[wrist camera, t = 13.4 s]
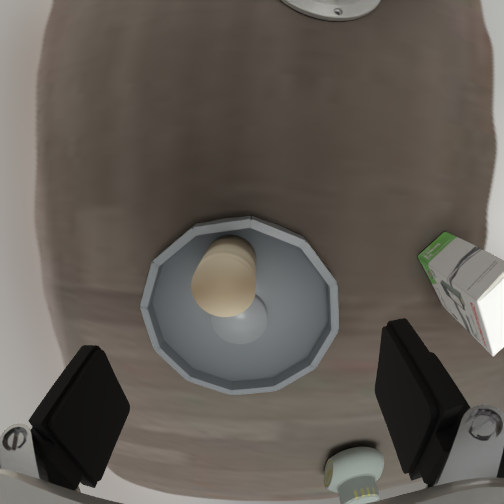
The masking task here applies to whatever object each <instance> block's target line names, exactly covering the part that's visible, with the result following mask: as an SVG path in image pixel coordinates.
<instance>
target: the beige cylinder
mask: <svg viewBox="0 0 504 504" xmlns="http://www.w3.org/2000/svg"><path fill="white" fill-rule="evenodd" d="M191 290H192V295H193V297H194V299H195V301H196V303H197V304H198V305H199V306H200V307H201V308H202V309H203V310H204V311H206V312H207V313H209V314H212V315H214V316H218V317H232V316H236V315H238V314H241V313H242V312H244V311H245V310H246V309H247V308H248V307H249V306H250V305H251V304H252V302H253V300H254V297H255V293H256V253H255V250H254V248H253V246H252V245H251V244H250V243H249V242H248V241H247V240H246V239H244V238H243V237H240V236H237V235H231V234H229V235H223V236H220V237H218V238H216V239H215V240H214V241H212V242H211V244H210V245H209V246H208V248H207V250H206V252H205V254H204V256H203V258H202V259H201V261H200V263H199V265H198V267H197V269H196V271H195V273H194V275H193V277H192V281H191Z"/></svg>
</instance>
